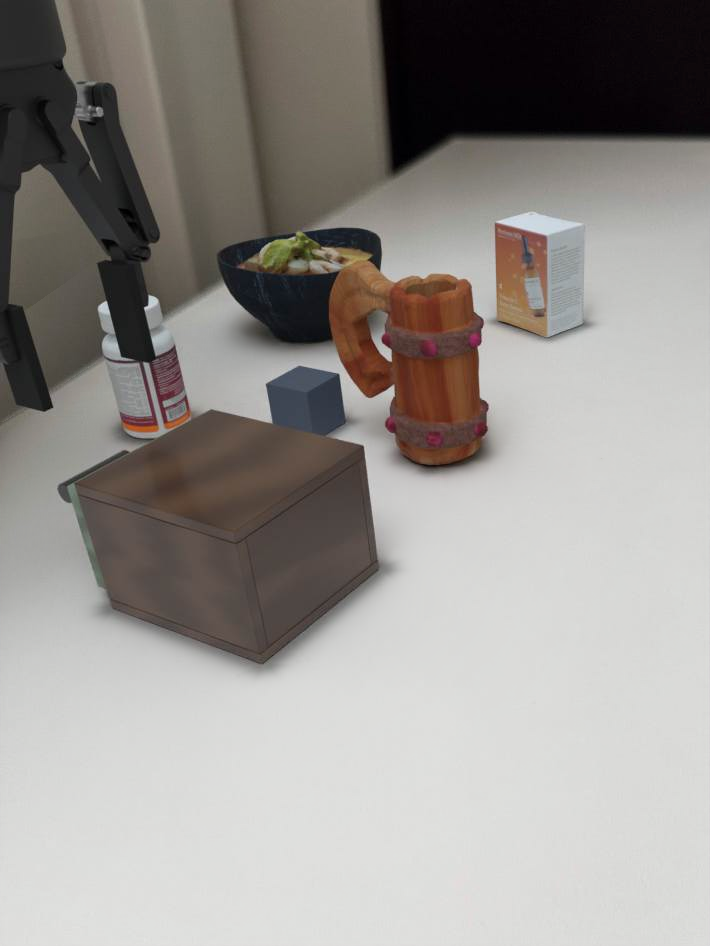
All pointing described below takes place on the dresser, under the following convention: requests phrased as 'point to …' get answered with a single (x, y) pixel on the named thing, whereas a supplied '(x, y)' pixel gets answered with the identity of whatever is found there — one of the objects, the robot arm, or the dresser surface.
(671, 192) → the dresser surface
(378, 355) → the mug
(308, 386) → the block
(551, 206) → the dresser surface
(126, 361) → the pill bottle
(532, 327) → the small box
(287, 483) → the cabinet
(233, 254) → the bowl
